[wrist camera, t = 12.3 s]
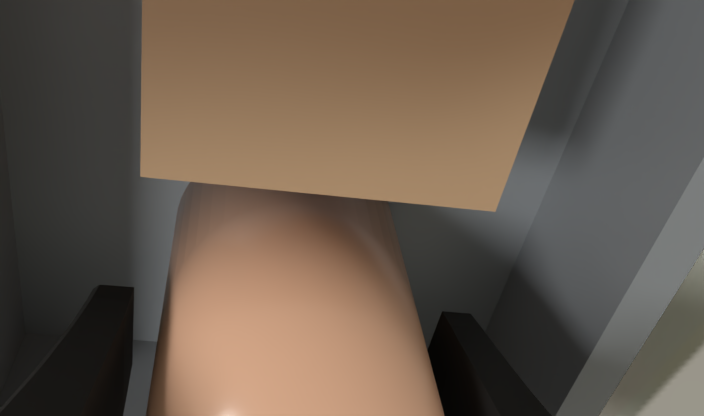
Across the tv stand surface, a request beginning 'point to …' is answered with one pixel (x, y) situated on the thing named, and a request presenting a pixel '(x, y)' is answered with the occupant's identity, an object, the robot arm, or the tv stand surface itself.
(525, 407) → the robot arm
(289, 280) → the terracotta cylinder
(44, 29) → the tote
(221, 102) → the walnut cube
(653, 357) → the tv stand surface
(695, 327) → the tv stand surface
